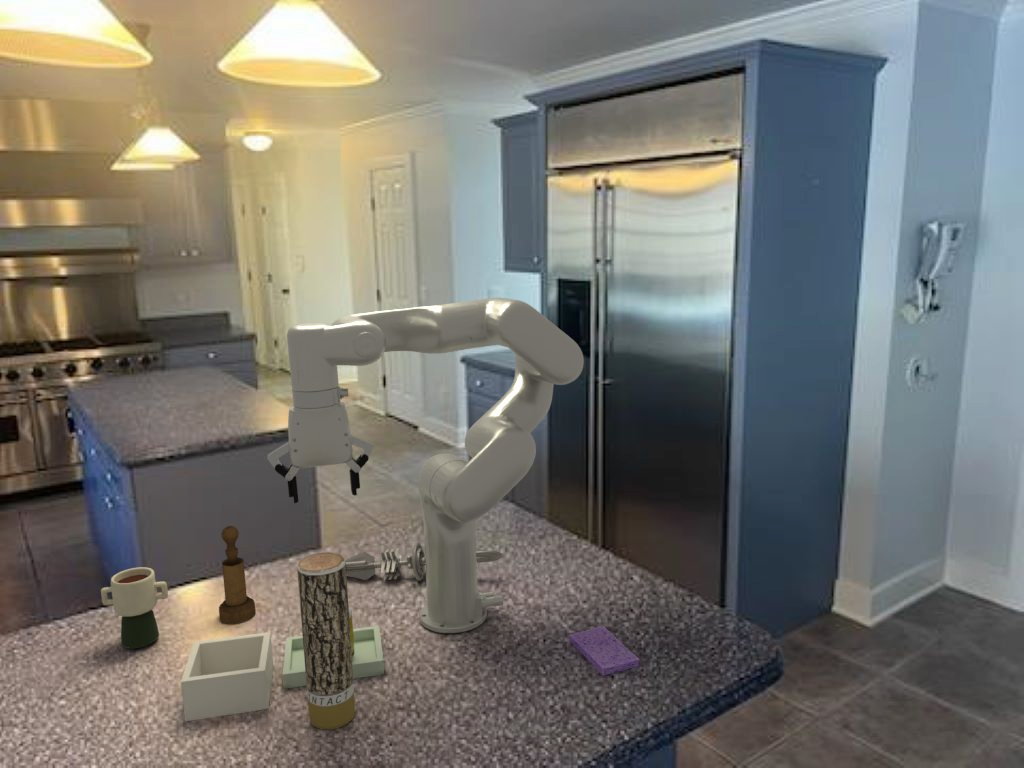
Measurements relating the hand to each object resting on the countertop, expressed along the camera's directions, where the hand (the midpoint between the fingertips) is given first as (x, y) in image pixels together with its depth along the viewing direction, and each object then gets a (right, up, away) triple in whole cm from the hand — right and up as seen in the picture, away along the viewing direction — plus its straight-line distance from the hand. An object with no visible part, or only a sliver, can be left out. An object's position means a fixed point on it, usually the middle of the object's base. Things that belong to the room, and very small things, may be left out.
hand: (325, 496), depth 131 cm
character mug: (-35, -28, +8) cm, 46 cm away
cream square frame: (-13, -30, -8) cm, 34 cm away
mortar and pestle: (-21, -26, +18) cm, 38 cm away
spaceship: (+12, -22, +32) cm, 41 cm away
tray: (+1, -28, 0) cm, 28 cm away
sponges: (+47, -28, +2) cm, 55 cm away
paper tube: (+5, -31, -15) cm, 35 cm away
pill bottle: (+2, -28, 0) cm, 28 cm away
